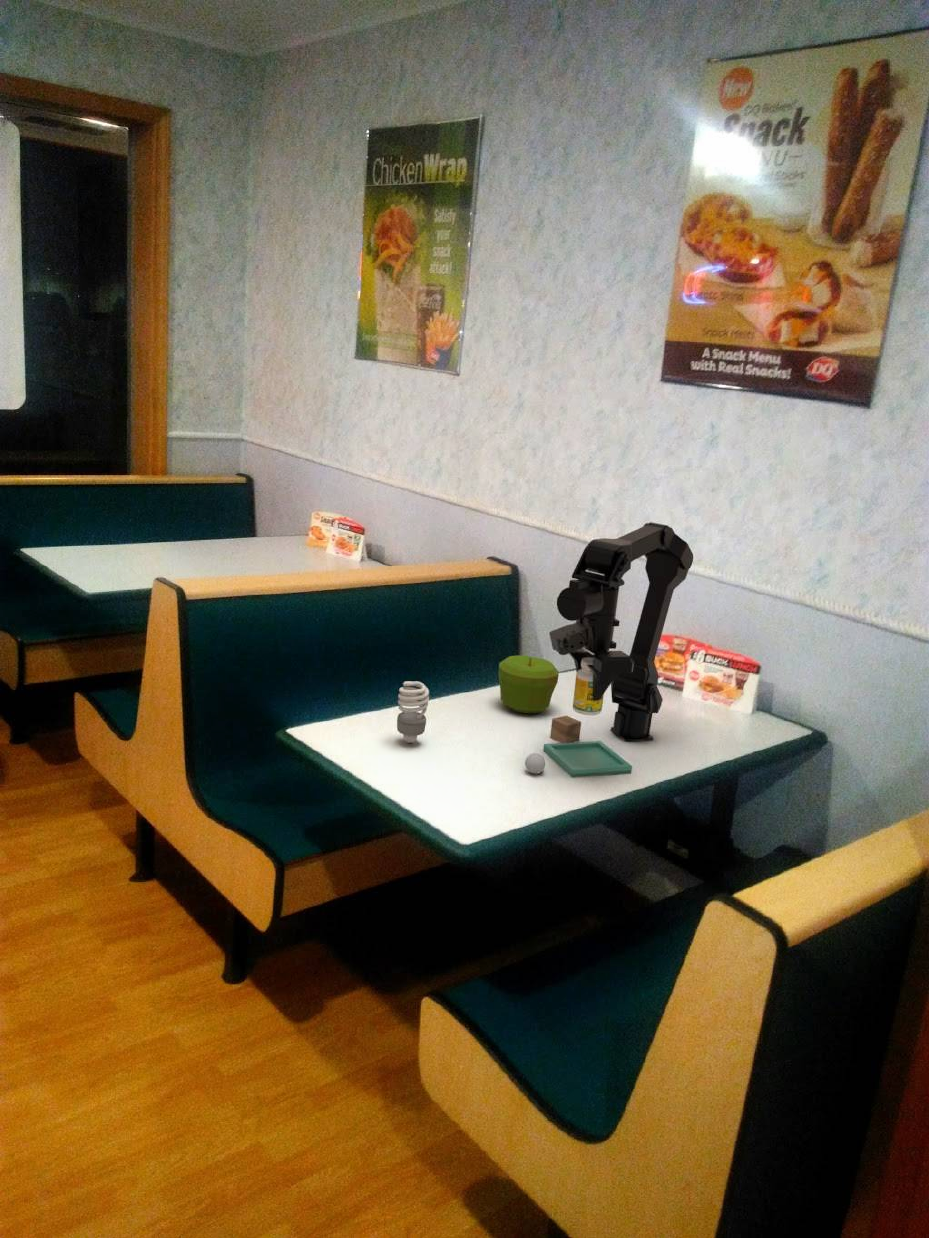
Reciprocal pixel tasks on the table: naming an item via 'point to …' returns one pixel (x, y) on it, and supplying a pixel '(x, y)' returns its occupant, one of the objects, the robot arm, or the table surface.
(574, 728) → the walnut cube
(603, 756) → the tray
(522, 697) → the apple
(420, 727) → the light bulb
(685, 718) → the table surface
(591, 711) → the supplement bottle
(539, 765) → the grey ball
